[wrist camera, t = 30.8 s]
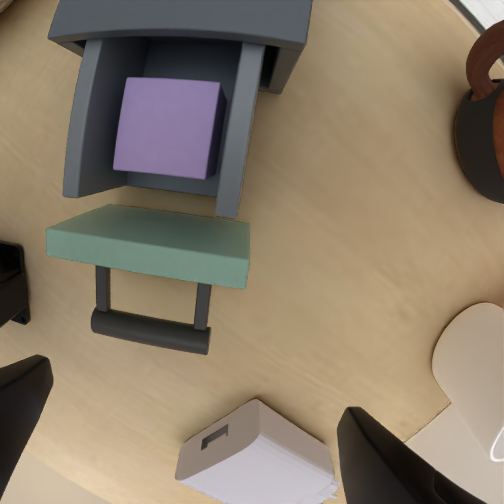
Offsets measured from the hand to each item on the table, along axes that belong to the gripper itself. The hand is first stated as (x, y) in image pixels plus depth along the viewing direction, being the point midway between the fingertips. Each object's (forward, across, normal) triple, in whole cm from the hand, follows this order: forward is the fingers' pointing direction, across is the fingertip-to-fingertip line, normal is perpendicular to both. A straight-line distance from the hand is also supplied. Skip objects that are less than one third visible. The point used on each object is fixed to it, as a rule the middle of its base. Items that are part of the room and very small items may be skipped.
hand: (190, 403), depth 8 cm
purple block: (+10, +3, -8) cm, 13 cm away
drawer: (+11, +3, -5) cm, 13 cm away
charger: (+12, -7, +18) cm, 23 cm away
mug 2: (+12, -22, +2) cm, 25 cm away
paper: (+4, -24, +10) cm, 27 cm away
